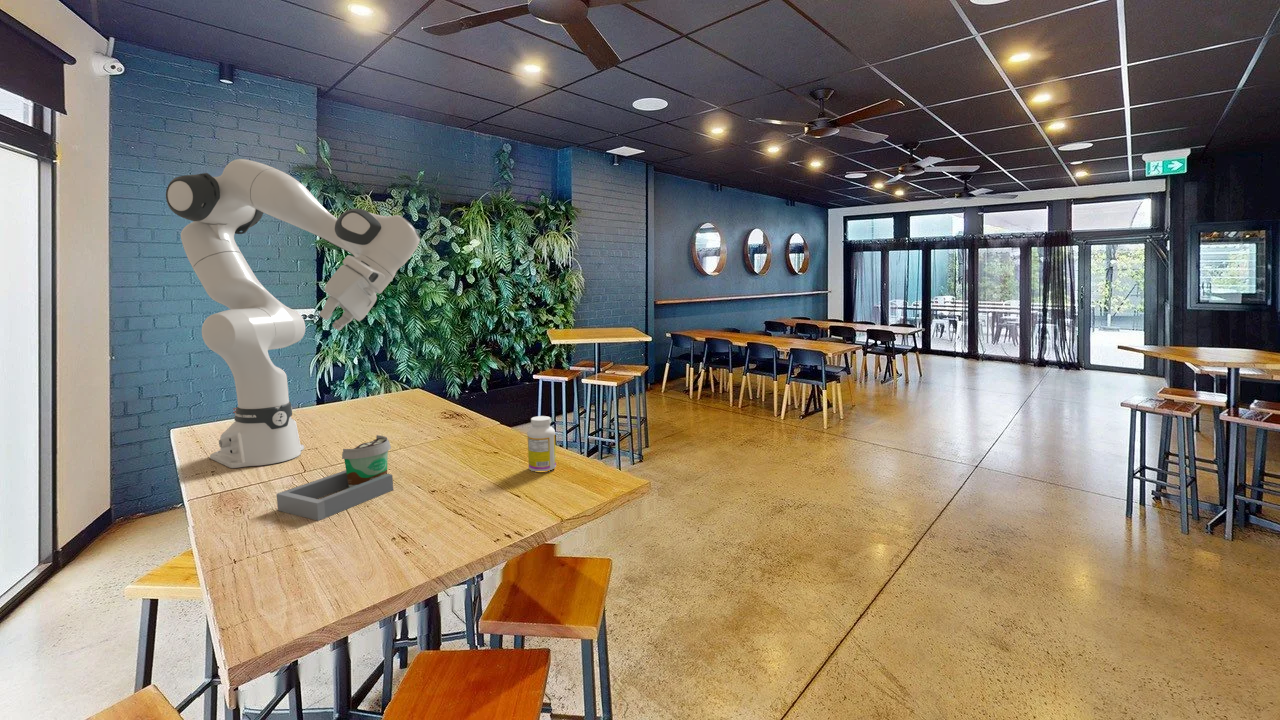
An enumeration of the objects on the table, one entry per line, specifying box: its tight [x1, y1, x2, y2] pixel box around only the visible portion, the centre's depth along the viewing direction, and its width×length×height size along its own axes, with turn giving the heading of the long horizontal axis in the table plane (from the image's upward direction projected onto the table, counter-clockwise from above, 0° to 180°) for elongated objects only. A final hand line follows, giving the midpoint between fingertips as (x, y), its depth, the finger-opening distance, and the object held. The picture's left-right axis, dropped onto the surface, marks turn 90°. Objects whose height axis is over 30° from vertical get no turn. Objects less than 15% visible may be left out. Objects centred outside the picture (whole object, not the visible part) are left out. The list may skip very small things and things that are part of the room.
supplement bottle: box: [527, 415, 557, 472], centre depth 140 cm, size 7×7×13 cm
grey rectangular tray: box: [276, 469, 394, 522], centre depth 121 cm, size 12×18×4 cm, turn 156°
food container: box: [341, 434, 392, 488], centre depth 129 cm, size 12×6×10 cm, turn 168°
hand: (329, 323), depth 131 cm, fingers open, 8 cm apart
